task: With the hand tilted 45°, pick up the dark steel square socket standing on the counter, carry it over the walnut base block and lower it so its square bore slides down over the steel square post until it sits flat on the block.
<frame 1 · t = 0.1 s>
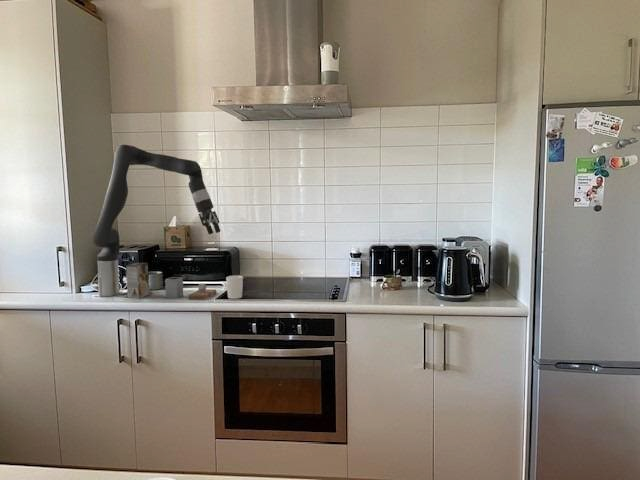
hand: (214, 233, 211), 31 cm above the worktop, tool tilted 20°, fingers open, 8 cm apart
socket: (174, 296, 219), on the worktop
white cup: (235, 297, 217), on the worktop
post block: (202, 296, 219), on the worktop
coffee box: (138, 296, 220), on the worktop
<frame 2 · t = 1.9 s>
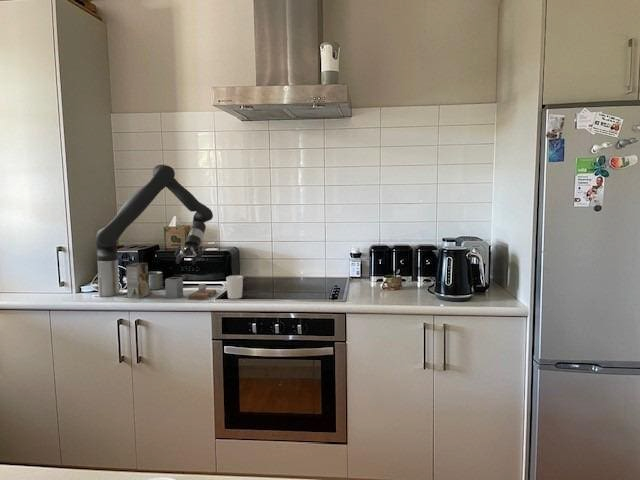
hand: (184, 263, 229), 15 cm above the worktop, tool tilted 45°, fingers open, 8 cm apart
nothing on the worktop moved.
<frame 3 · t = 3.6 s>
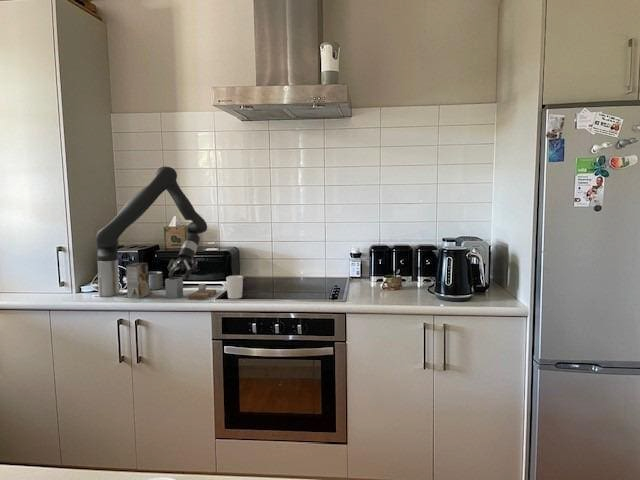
hand: (178, 277, 222), 9 cm above the worktop, tool tilted 45°, fingers open, 8 cm apart
nothing on the worktop moved.
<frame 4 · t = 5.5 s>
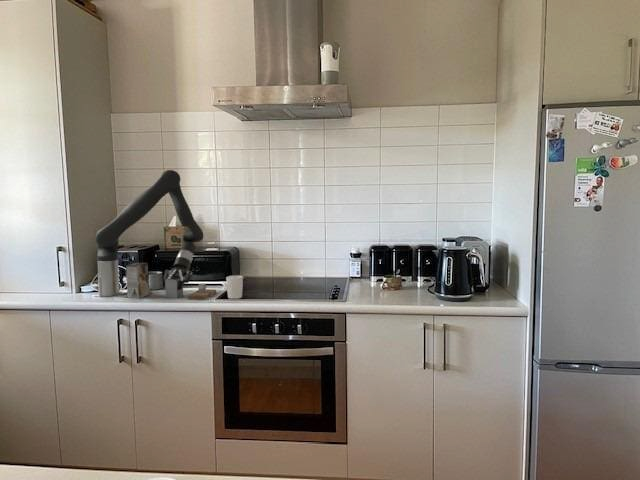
hand: (172, 288, 217), 4 cm above the worktop, tool tilted 45°, fingers closed on socket, 6 cm apart
socket: (174, 296, 219), on the worktop, touching gripper
everything else where it was.
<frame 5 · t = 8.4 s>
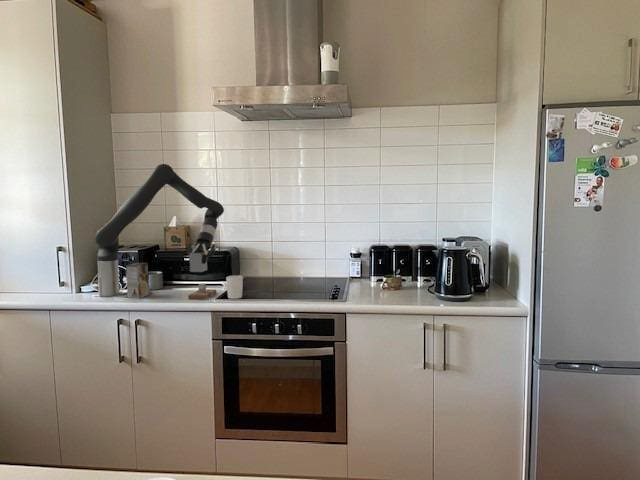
hand: (197, 262, 216), 17 cm above the worktop, tool tilted 45°, fingers closed on socket, 6 cm apart
socket: (198, 270, 218), point 13 cm above the worktop, touching gripper
everything else where it was.
when the fingers open (8 cm above the worktop, at t = 11.2 s): socket drops 1 cm, resting on post block.
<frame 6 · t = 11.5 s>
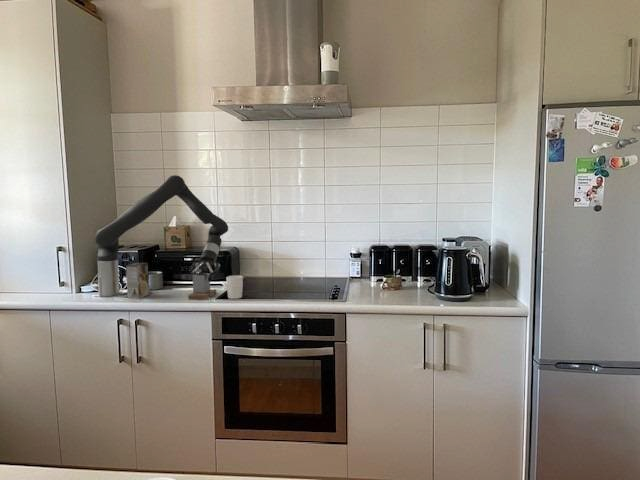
hand: (200, 280, 217), 8 cm above the worktop, tool tilted 45°, fingers open, 8 cm apart
socket: (201, 292, 219), point 2 cm above the worktop, touching post block
everything else where it was.
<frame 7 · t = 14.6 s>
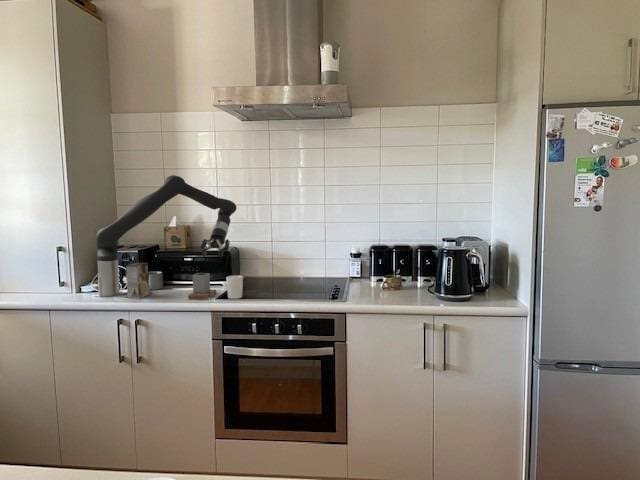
hand: (211, 256, 229), 18 cm above the worktop, tool tilted 45°, fingers open, 8 cm apart
nothing on the worktop moved.
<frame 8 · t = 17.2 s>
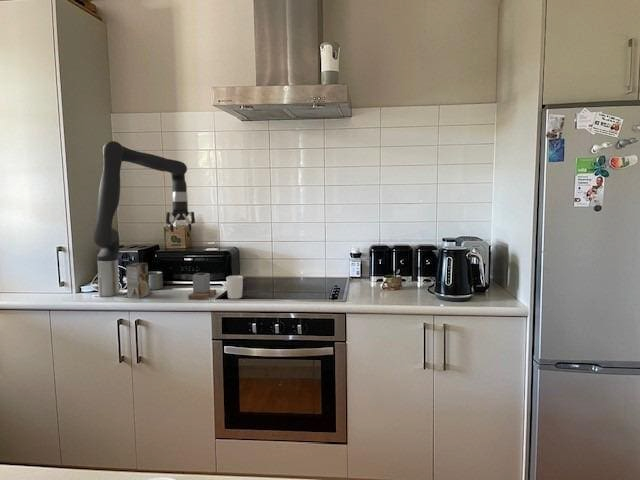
hand: (180, 231, 235), 30 cm above the worktop, tool pointing down, fingers open, 8 cm apart
nothing on the worktop moved.
at the end: socket 0.3 cm off-centre on the post block, point 2.0 cm above the post block's base; socket tilted 0°; the gripper is holding nothing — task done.
